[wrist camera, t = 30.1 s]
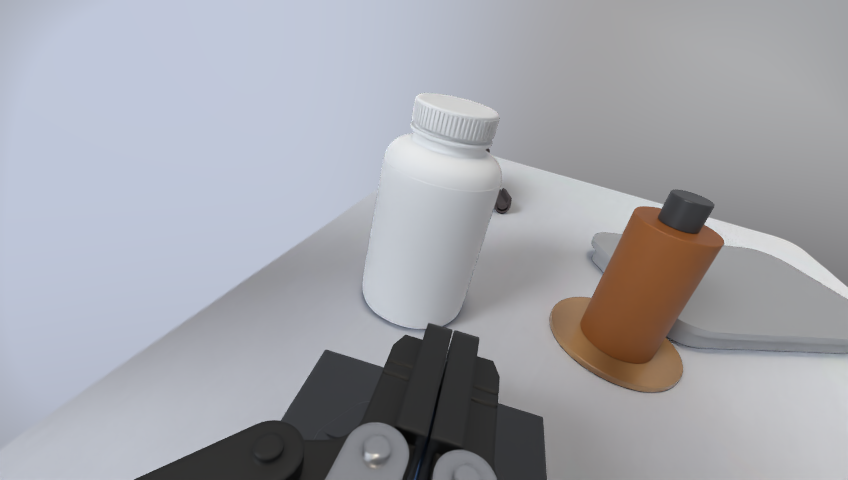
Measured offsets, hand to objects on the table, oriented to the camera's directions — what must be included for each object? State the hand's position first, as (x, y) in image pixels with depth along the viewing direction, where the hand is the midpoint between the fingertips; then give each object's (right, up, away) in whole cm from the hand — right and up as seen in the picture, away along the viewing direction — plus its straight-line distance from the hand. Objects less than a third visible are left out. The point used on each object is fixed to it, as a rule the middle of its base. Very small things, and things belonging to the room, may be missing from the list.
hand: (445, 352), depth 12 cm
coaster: (+14, -5, +21) cm, 25 cm away
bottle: (+14, -4, +20) cm, 25 cm away
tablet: (+30, -3, +31) cm, 43 cm away
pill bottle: (-2, -1, +20) cm, 21 cm away
